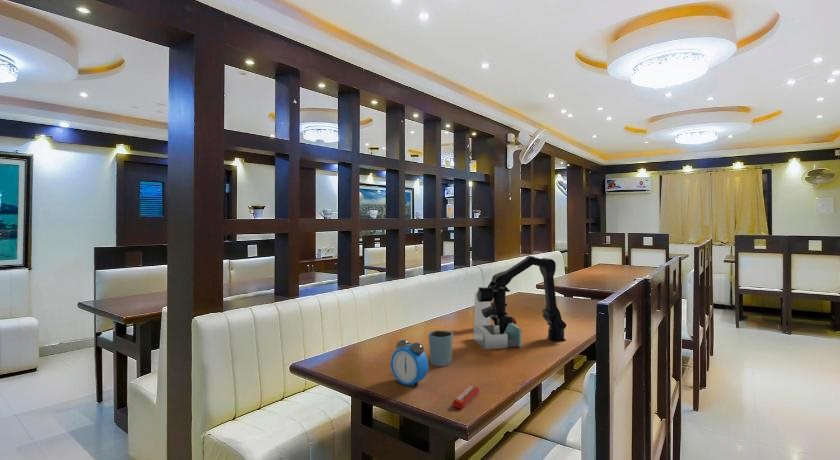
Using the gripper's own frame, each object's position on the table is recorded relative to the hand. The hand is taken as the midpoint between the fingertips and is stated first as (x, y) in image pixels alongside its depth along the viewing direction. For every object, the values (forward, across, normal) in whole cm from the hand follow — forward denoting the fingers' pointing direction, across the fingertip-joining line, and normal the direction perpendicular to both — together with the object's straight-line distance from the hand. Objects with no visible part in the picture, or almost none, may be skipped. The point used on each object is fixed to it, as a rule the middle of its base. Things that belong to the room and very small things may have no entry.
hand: (499, 333), depth 193 cm
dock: (+4, 0, -5) cm, 6 cm away
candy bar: (+5, +57, -31) cm, 65 cm away
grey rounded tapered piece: (+1, 0, 0) cm, 1 cm away
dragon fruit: (+5, -20, +11) cm, 23 cm away
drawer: (+4, 0, +1) cm, 4 cm away
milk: (+4, -25, -1) cm, 25 cm away
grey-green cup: (+4, +22, -33) cm, 40 cm away
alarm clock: (+4, +41, -48) cm, 63 cm away
